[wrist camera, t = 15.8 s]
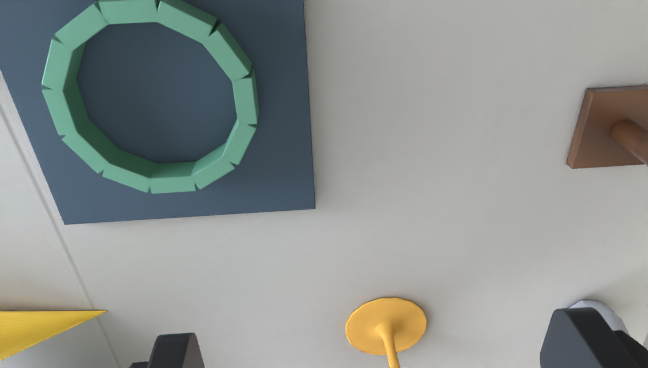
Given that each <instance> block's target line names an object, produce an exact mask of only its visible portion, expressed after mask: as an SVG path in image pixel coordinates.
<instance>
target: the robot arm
mask: <svg viewBox="0 0 648 368" xmlns="http://www.w3.org/2000/svg"><path fill="white" fill-rule="evenodd" d="M540 365H541V368H648V350H647V349H646V348H645V347H643V346H642V345H641V344H639V343H638V342H637V341H636V340H634V339H633V338H632V337H630V336H629V335H628V334H626V333H625V332H624V331H623V330H612V329H611V327H610V326H609V325H608V323H607V322H606V321H605V319H604V318H603V316H602V315H601V314H600V313H599V311H597V310H596V309H595V308H593V307H579V308H565V309H556V310H555V311H554V312H553V314H552V317H551V320H550V324H549V327H548V330H547V333H546V336H545V339H544V343H543V346H542V349H541V352H540ZM129 368H205V367H204V363H203V359H202V356H201V352H200V348H199V345H198V341H197V337H196V335H195V333H181V334H166V335H159V336H158V337H157V339H156V341H155V344H154V347H153V350H152V353H151V356H150V360H149V362H136V363H132V365H131V366H130V367H129Z"/></svg>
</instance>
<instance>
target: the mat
mask: <svg viewBox="0 0 648 368" xmlns="http://www.w3.org/2000/svg"><path fill="white" fill-rule="evenodd" d="M97 1H99V0H0V70H1V72H2V74H3V77H4V79H5V82H6V84H7V86H8V89H9V91H10V94H11V96H12V99H13V101H14V103H15V106H16V108H17V111H18V113H19V116H20V118H21V120H22V123H23V125H24V128H25V130H26V132H27V135H28V137H29V140H30V142H31V145H32V147H33V149H34V152H35V154H36V157H37V159H38V161H39V164H40V166H41V169H42V171H43V174H44V176H45V178H46V181H47V183H48V186H49V188H50V191H51V193H52V195H53V198H54V200H55V203H56V205H57V207H58V210H59V212H60V215H61V217H62V220H63V222H64V224H65V225H67V224H83V223H99V222H115V221H130V220H146V219H162V218H178V217H194V216H209V215H225V214H241V213H257V212H272V211H288V210H304V209H315V192H314V174H313V157H312V140H311V123H310V106H309V88H308V71H307V54H306V37H305V20H304V3H303V0H182V1H184V2H186V3H188V4H191V5H193V6H195V7H197V8H199V9H201V10H203V11H205V12H207V13H209V14H211V15H213V16H215V17H217V22H216V24H215V26H217V25H218V24H219V23H221V22H223V24H224V25H225V26H226V28H227V29H228V30H229V32H230V33H231V35H232V36H233V37H234V39H235V40H236V41H237V43H238V44H239V45H240V47H241V48H242V50H243V51H244V52H245V54H246V55H247V56H248V58H249V59H250V61H251V62H252V65H251V68H253V67H254V70H255V79H256V87H257V96H258V104H259V116H258V123H257V128H256V131H255V133H254V135H253V137H252V139H251V141H250V143H249V145H248V147H247V149H246V151H245V153H244V155H243V157H242V159H241V161H240V163H239V165H237V164H236V167H235V169H233V170H232V171H230V172H228V173H227V174H225V175H224V176H222V177H220V178H219V179H217V180H215V181H214V182H212V183H210V184H209V185H207V186H205V187H204V188H202V189H199V188H198V186H197V189H196V191H188V192H171V193H155V194H152V192H151V189H150V188H149V190H148V192H147V193H146V192H143V191H141V190H138V189H135V188H132V187H130V186H127V185H124V184H122V183H119V182H116V181H113V180H111V179H108V178H105V177H103V176H102V175H103V172H104V170H103V171H101V172H100V173H97V172H96V171H94V170H93V169H92V168H91V167H90V166H89V165H88V164H87V163H86V162H85V161H84V160H83V159H82V158H81V157H80V156H79V155H77V154H76V153H75V152H74V151H73V150H72V149H71V148H70V147H69V146H68V145H67V144H66V143H65V142H64V141H63V140H62V139H63V138H64V137H65V135H59V134H58V132H57V129H56V126H55V124H54V121H53V118H52V116H51V113H50V110H49V108H48V105H47V102H46V100H45V97H44V94H43V92H42V89H44V88H45V87H46V86H44V85H42V79H43V75H44V71H45V66H46V62H47V58H48V53H49V49H50V44H51V40H52V38H54V37H56V35H55V33H56V32H58V31H59V30H60V29H62V28H63V27H64V26H65V25H67V24H68V23H69V22H70V21H72V20H73V19H74V18H76V17H77V16H78V15H79V14H81V13H82V12H83V11H84V10H86V9H87V8H88V7H90V6H91V5H92V4H94V3H95V2H97ZM76 81H77V84H78V87H79V90H80V93H81V96H82V99H83V102H84V105H85V108H86V111H87V115H88V118H89V119H90V120H91V121H92V122H93V123H94V124H95V125H96V126H97V127H98V128H99V129H100V130H101V131H102V132H103V133H104V134H105V135H106V136H107V137H108V138H109V139H110V140H111V141H112V142H113V143H114V144H115V145H116V146H117V147H118V148H119V149H121V150H123V151H126V152H128V153H131V154H133V155H136V156H139V157H141V158H144V159H146V160H149V161H151V162H154V163H157V164H163V163H180V162H196V161H198V160H199V159H201V158H203V157H204V156H206V155H207V154H209V153H211V152H212V151H214V150H215V149H217V148H218V147H220V146H222V145H223V144H225V143H226V142H227V139H228V137H229V135H230V133H231V131H232V129H233V126H234V124H235V122H236V120H237V112H236V105H235V99H234V92H233V85H232V81H231V80H230V78H229V77H228V76H227V74H226V73H225V72H224V70H223V69H222V68H221V67H220V65H219V64H218V63H217V61H216V60H215V59H214V58H213V56H212V55H211V54H210V52H209V51H208V50H207V48H206V47H205V46H204V45H203V43H200V42H198V41H196V40H194V39H192V38H190V37H188V36H186V35H184V34H182V33H180V32H177V31H175V30H173V29H171V28H169V27H167V26H165V25H163V24H161V23H159V22H143V23H124V24H109V25H107V26H106V27H105V28H103V29H102V30H101V31H99V32H98V33H97V34H96V35H94V36H93V37H92V38H90V39H89V40H88V41H86V44H85V48H84V52H83V56H82V59H81V63H80V67H79V71H78V74H77V78H76Z"/></svg>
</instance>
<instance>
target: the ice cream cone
mask: <svg viewBox="0 0 648 368" xmlns="http://www.w3.org/2000/svg"><path fill="white" fill-rule="evenodd" d="M104 312H107V311H0V361H1V360H3V359H5V358H7V357H10V356H12V355H14V354H16V353H18V352H20V351H22V350H25V349H27V348H29V347H31V346H33V345H35V344H38V343H40V342H42V341H44V340H46V339H48V338H51V337H53V336H55V335H57V334H59V333H61V332H63V331H66V330H68V329H70V328H72V327H74V326H76V325H79V324H81V323H83V322H85V321H87V320H89V319H92V318H94V317H96V316H98V315H100V314H102V313H104Z"/></svg>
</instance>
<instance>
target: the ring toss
mask: <svg viewBox="0 0 648 368" xmlns="http://www.w3.org/2000/svg"><path fill="white" fill-rule="evenodd" d="M641 164H646V165H647V166H648V85H645V86H628V87H610V88H593V89H587V90H586V93H585V97H584V101H583V104H582V108H581V112H580V115H579V119H578V123H577V127H576V130H575V134H574V138H573V141H572V145H571V149H570V152H569V156H568V160H567V165H569V166H570V167H571V168H572V169H577V168H593V167H609V166H625V165H641Z"/></svg>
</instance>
